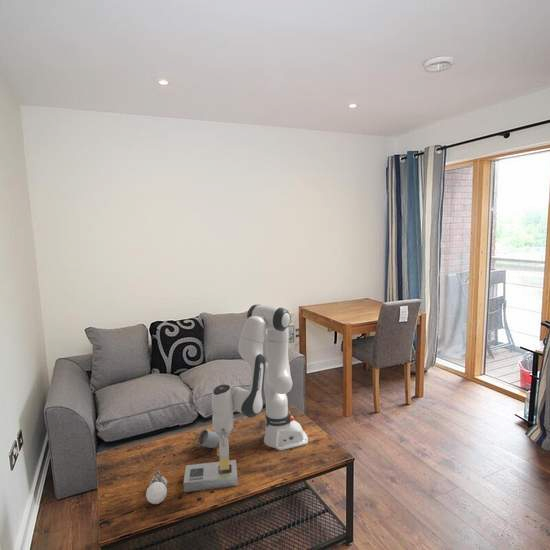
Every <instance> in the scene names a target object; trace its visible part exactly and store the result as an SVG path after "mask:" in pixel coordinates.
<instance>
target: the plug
mask: <svg viewBox="0 0 550 550" xmlns="http://www.w3.org/2000/svg"><path fill="white" fill-rule="evenodd" d="M229 448H230V447H229V444H228V449H229ZM229 450H230V449H229ZM216 457H219V462H220V470H227V469H229V461H230V454H229V455H228V456H227V457H226V459H222V457H220V454H219V447H218V448H216Z"/></svg>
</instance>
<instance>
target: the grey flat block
mask: <svg viewBox="0 0 550 550" xmlns="http://www.w3.org/2000/svg"><path fill="white" fill-rule="evenodd" d="M237 468H238V467H237V460H236V459H232V460H230V459H229V469H227V470H220V461H215V462H214V461H213V462H205V463H196V464H187V465H185V470H184V477H183V493H188V492H197V491H204V490H212V489H220V488H228V487H229V488H230V487H235V486H237V487H238V486H239V485H238V484H239V483H238V469H237Z"/></svg>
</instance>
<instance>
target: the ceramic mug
mask: <svg viewBox="0 0 550 550" xmlns="http://www.w3.org/2000/svg"><path fill="white" fill-rule="evenodd" d="M197 441H198V444H199V446H201V447H205V448H209V449H215V448H216V447H218V446H219V435H218V434H217V433H216V432H215V431H212V430H210V429H207V428H204V429H203V430H201V431H200V433H199V435H198V439H197Z"/></svg>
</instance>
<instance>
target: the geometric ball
mask: <svg viewBox="0 0 550 550" xmlns="http://www.w3.org/2000/svg"><path fill="white" fill-rule="evenodd" d="M149 485H150V484H149ZM149 485H148V487H147V489H146V493H145V497H146V499H147V502H149V503H150V504H152V505H159V504H160V503H162V502H163V501H164V500H165V499H166V497H167V492H168V489H167V486H165V484H163V483H162V482H154V483H153V484H151V485H150V486H149Z"/></svg>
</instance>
